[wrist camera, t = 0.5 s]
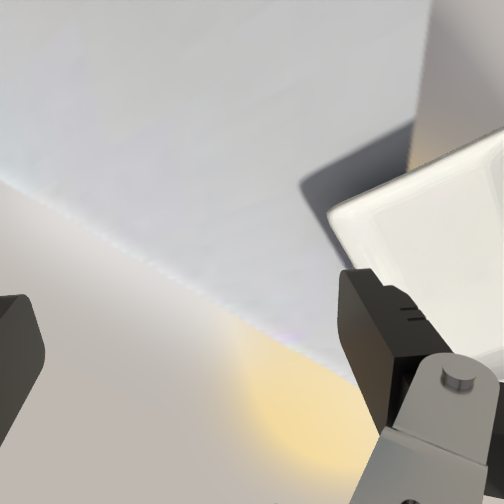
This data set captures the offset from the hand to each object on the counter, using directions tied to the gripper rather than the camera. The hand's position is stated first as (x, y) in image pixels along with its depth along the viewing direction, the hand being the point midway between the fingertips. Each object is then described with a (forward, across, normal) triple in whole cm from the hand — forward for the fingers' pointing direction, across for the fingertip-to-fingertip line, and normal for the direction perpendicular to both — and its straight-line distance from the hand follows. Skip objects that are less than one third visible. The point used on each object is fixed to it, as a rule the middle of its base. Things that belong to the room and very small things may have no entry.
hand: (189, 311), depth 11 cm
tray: (+29, -24, +16) cm, 41 cm away
